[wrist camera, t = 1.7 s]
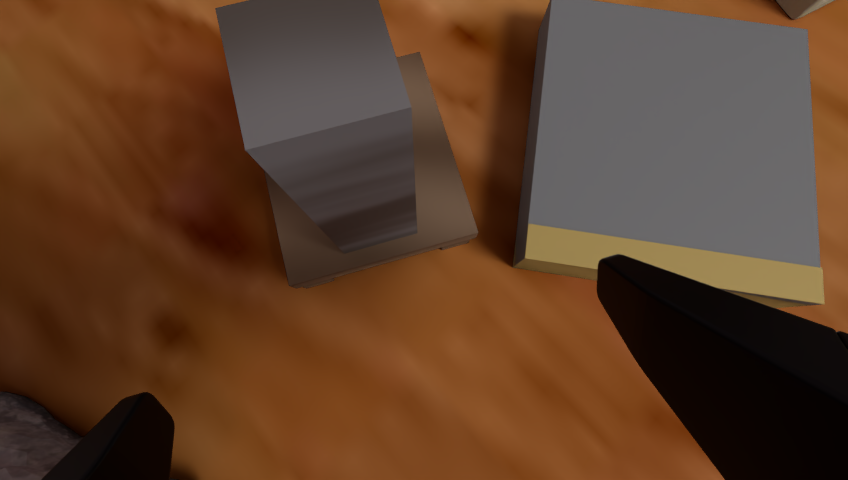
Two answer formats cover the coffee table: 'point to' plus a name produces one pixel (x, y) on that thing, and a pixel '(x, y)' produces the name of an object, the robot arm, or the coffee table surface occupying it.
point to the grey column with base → (342, 136)
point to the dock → (672, 150)
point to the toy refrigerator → (801, 6)
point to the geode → (30, 439)
